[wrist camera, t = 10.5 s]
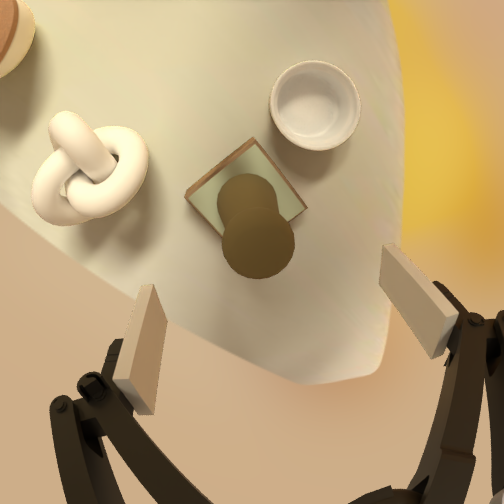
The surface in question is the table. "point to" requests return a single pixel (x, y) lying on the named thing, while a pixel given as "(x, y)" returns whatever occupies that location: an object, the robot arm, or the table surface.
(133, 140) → the white decorative knot
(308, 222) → the table surface
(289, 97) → the ramekin
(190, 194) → the stand
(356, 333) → the table surface
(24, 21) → the lidded jar
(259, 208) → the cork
